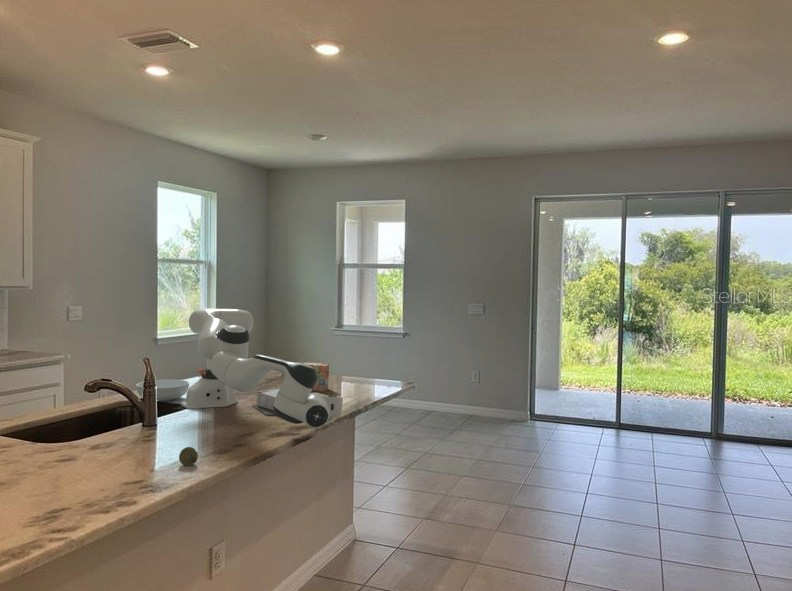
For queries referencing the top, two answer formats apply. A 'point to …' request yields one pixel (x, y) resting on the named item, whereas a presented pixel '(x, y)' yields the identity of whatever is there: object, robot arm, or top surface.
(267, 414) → the mat
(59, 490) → the top surface
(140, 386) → the serving bowl
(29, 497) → the top surface
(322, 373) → the stack of blocks
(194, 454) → the lime
